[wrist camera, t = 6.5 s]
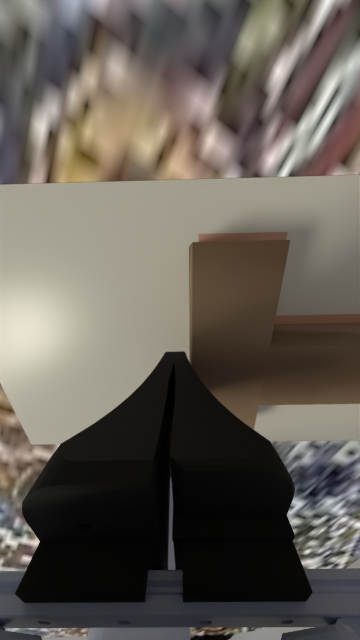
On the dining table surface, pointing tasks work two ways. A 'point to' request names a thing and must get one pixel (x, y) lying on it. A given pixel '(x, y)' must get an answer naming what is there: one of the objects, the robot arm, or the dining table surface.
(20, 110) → the dining table surface
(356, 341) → the t block
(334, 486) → the dining table surface
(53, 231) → the mat
